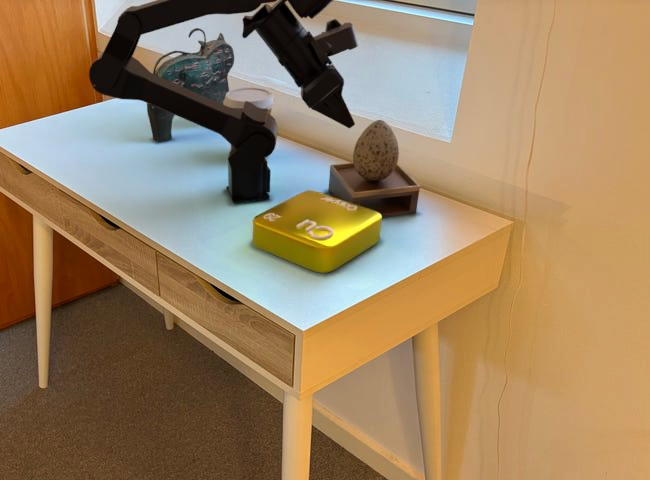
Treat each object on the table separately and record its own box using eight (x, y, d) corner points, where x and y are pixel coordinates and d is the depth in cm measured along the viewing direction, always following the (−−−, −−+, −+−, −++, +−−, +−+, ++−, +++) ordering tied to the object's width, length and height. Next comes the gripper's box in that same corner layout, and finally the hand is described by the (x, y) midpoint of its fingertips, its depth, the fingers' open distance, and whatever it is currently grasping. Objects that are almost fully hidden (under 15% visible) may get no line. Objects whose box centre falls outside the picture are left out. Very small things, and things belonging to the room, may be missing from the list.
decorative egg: (398, 174, 121) (405, 114, 115) (392, 191, 115) (400, 129, 109) (355, 170, 123) (360, 111, 117) (347, 186, 118) (352, 126, 112)
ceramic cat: (224, 117, 159) (222, 19, 147) (241, 125, 154) (240, 25, 142) (145, 137, 151) (137, 36, 139) (161, 146, 147) (153, 42, 135)
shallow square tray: (351, 221, 116) (353, 193, 114) (328, 191, 126) (330, 164, 123) (415, 213, 118) (420, 185, 115) (388, 184, 127) (391, 158, 124)
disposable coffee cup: (217, 163, 138) (215, 100, 131) (233, 146, 145) (233, 84, 138) (264, 169, 135) (265, 104, 128) (279, 150, 142) (281, 88, 135)
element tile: (384, 239, 111) (388, 210, 108) (325, 277, 103) (327, 247, 100) (307, 212, 120) (308, 184, 117) (246, 244, 112) (246, 216, 109)
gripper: (338, 7, 99) (402, 96, 104) (324, -4, 115) (381, 74, 120) (274, 64, 103) (339, 147, 109) (270, 46, 119) (326, 119, 125)
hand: (348, 119), depth 115 cm, fingers open, 9 cm apart
